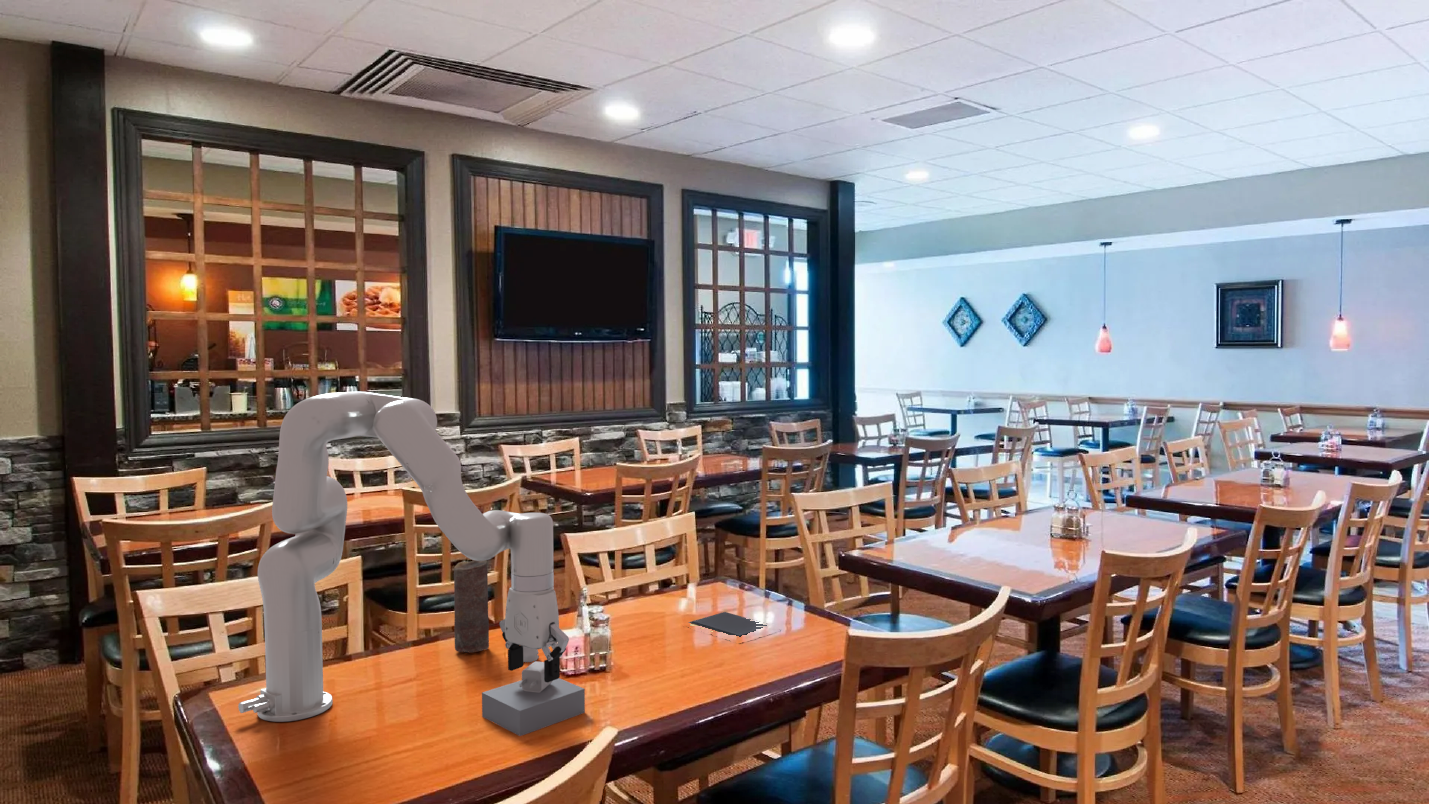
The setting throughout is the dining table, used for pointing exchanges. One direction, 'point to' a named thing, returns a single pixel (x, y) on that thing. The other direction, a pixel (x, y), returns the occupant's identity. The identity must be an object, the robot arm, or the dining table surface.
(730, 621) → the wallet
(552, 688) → the base block
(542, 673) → the usb wall charger
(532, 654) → the rook chess piece
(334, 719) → the dining table surface
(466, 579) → the dark brown rough pillar
